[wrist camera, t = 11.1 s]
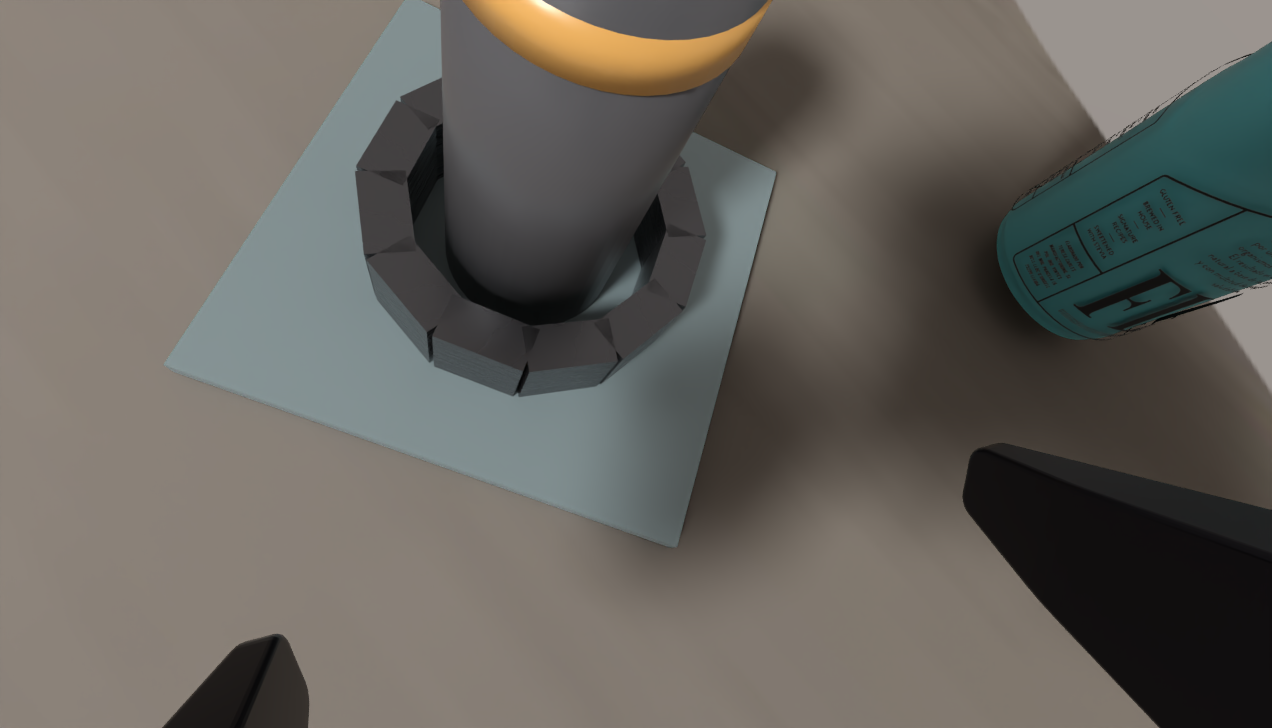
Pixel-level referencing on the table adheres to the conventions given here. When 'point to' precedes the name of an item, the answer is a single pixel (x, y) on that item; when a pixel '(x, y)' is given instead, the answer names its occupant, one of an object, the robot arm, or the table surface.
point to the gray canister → (568, 135)
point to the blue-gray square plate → (392, 365)
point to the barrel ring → (481, 337)
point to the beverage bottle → (1152, 214)
